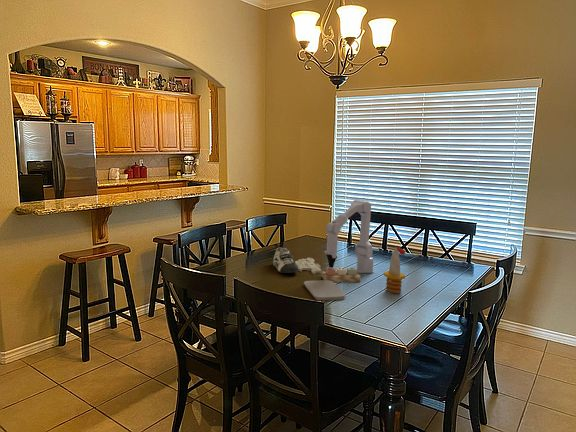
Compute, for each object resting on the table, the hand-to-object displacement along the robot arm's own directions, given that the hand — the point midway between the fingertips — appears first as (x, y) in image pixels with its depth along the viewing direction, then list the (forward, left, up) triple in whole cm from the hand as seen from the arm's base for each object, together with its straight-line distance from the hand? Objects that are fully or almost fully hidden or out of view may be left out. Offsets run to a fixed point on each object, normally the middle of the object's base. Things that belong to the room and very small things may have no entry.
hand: (331, 267), depth 248 cm
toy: (-29, +22, -7) cm, 37 cm away
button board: (-6, 0, -7) cm, 9 cm away
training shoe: (+25, -19, -7) cm, 32 cm away
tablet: (+8, +21, -8) cm, 24 cm away
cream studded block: (-6, 0, -4) cm, 7 cm away
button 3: (0, 0, -4) cm, 4 cm away
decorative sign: (+10, -25, -8) cm, 28 cm away
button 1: (-12, 0, -4) cm, 13 cm away
